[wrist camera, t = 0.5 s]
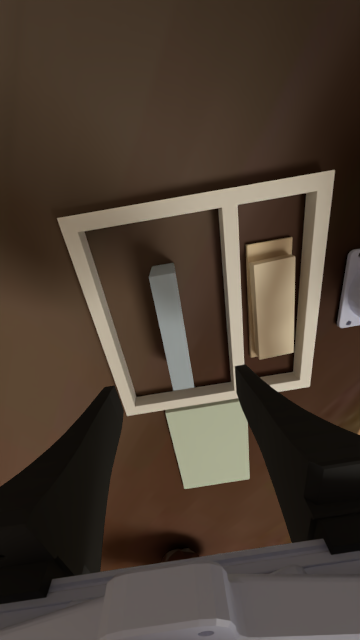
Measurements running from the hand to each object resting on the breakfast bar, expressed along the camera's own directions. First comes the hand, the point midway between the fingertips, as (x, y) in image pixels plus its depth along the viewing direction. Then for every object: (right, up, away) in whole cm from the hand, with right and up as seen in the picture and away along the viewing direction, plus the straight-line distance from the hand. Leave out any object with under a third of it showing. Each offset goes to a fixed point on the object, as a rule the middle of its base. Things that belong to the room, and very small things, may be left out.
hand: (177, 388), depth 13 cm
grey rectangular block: (-1, +4, +9) cm, 10 cm away
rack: (+3, +5, +9) cm, 11 cm away
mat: (+4, -13, +18) cm, 23 cm away
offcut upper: (+9, +5, +9) cm, 14 cm away
